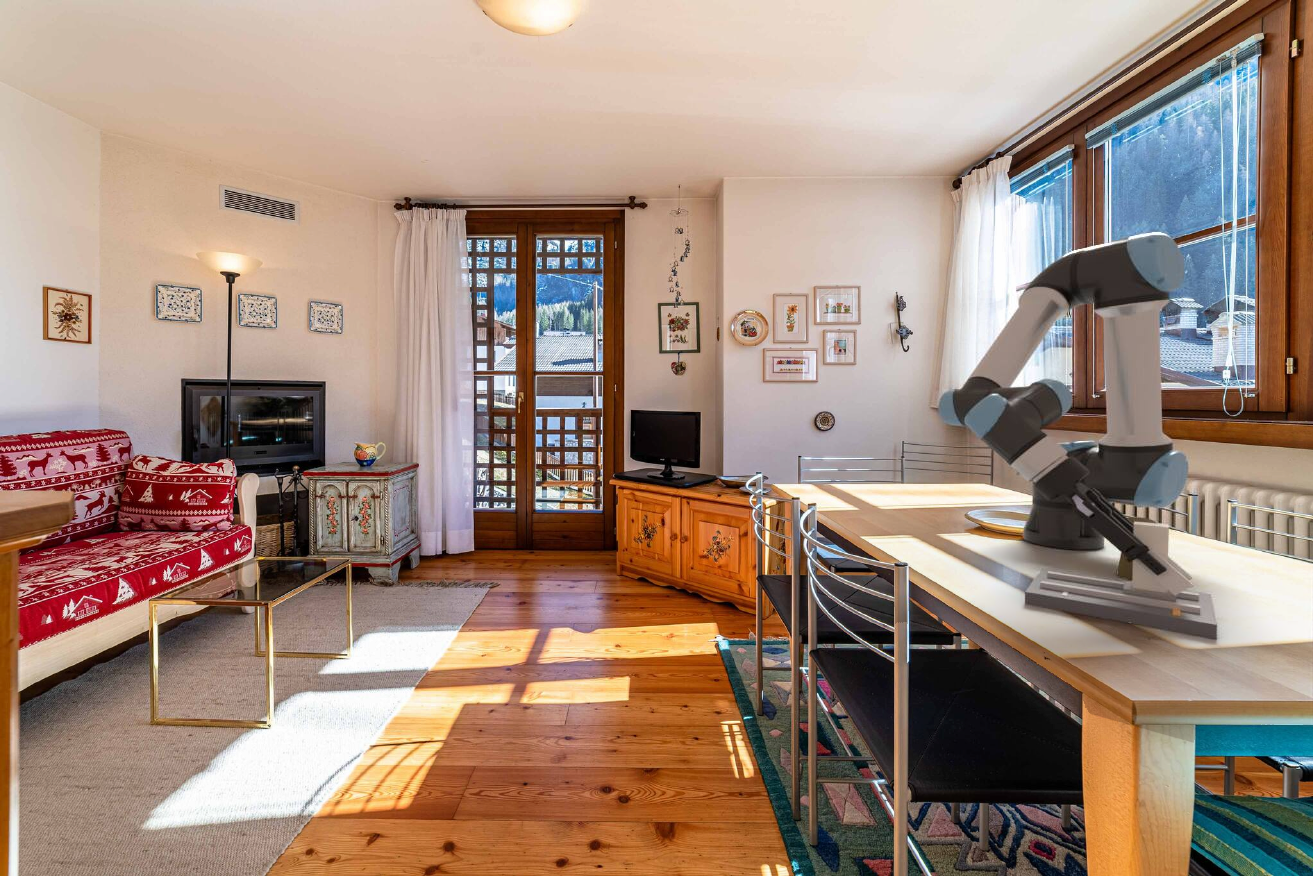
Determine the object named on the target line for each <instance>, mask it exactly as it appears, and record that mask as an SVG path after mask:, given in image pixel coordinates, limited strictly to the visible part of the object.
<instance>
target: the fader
mask: <svg viewBox="0 0 1313 876" xmlns="http://www.w3.org/2000/svg"><path fill="white" fill-rule="evenodd" d="M1169 531H1170V524H1169V523H1168V524H1166V523H1157V522H1156V523H1146V522H1135V521H1134V532H1133V535H1135V536H1136V537H1137V538H1138V539H1139V540H1140V541H1141V542H1142V543H1143V544H1144V545H1146V546H1148V548H1149V550H1150V549H1151V548H1152V549H1153V550H1154V551H1155V552H1156V553H1158V554H1159V555H1160V556H1161V557H1162V558H1163V559H1165V560H1166V561H1167V562H1168V556H1169V540H1170V538H1169V536H1170V535H1169V533H1170V532H1169ZM1124 581H1125V584H1124V588H1123V594H1126V595H1132V596H1139V597H1145V598H1151V599H1157V600H1164V601H1170V602H1176V595H1174V594H1172V593H1171V592H1170V591H1169V590H1168V589H1167V588H1166V587H1165V586H1163V585H1162V584H1161V583H1160V582H1159V581H1158V580H1157V579H1156V578H1154V577H1153V576H1152V575H1151V574H1150V573H1149V572H1148V571H1146V570H1145V569H1144V568H1143V567H1142V566H1141V565H1140V564H1139V563H1137V562H1136V561H1135V560H1133V578H1132V580H1124Z"/></svg>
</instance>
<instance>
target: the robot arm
mask: <svg viewBox="0 0 1313 876" xmlns="http://www.w3.org/2000/svg"><path fill="white" fill-rule="evenodd" d="M1185 269H1186V268H1185V262H1184V257H1183V255H1182V252H1181V250H1180V248H1179V246H1178V244H1177V243H1176V241H1175V240H1174V239H1173V237H1170V235H1168V234H1165V233H1163V232H1151V233H1143V234H1138V235H1132V236H1129V237H1125V238H1121V239H1118V240H1113V241H1109V242H1105V243H1101V244H1098V245H1094V246H1093V245H1092V246H1089V247H1086V248H1085V247H1084V248H1081V249H1077V250H1073V251H1071V252H1069V253H1067V254H1064V255H1063V256H1061V257H1060V258H1057V259H1056V260H1055V261H1054V262H1052V263H1051V264H1049V265H1048V266H1047V267H1045V268H1044V269H1043V270H1042V271H1041V272H1040V273H1039V274H1037V276H1035V278H1033V279H1032V280H1031V282H1030V283H1029V284H1028V285H1027V286H1026V288H1025V289H1024V290H1023V292H1022V293H1021V294H1020V295H1019V299H1018V307H1017V309H1016V310H1015V312H1014V313H1013V314H1012V315H1011V317H1010V319H1009V320H1008V322H1007V323H1006V325H1005V326H1004V327H1003V329H1002V330H1001V332H1000V333H999V334H998V336H997V338H995V340H994V341H993V342H992V344H991V345H990V346H989V348H988V349H987V351H986V352H985V354H984V355H983V357H982V358H981V360H980V361H979V362H978V364H977V366H976V367H975V368H974V369H973V371H972V373H971V374H970V375H969V377H968V378H967V380H966V381H965V383H963V385H962V387H961V388H960V389H959V388H954V389H950V390H947V391H945V392H944V393H943V394H942V395H941V396H940V398H939V401H938V406H937V407H938V410H937V411H938V414H939V416H940V419H942V421H943V422H944V423H945V424H947V425H949V426H950V425H951V426H959V427H965V428H966V427H967V428H969V429H970V430H971V432H972V433H973V434H974V435H975V436H976V438H977V439H980V440H981V441H982V442H983V443H985V445H987V446H988V447H989V448H990V449H992V450H993V452H995V453H996V454H997V455H998V456H999V457H1001V459H1003V460H1004V461H1005V462H1006V463H1007V464H1008V465H1009V466H1011V467H1012V468H1013V469H1014V470H1013V474H1014V475H1015V476H1018V475H1020V476H1021V477H1023V478H1024V479H1025V480H1026V481H1027V482H1032V504H1031V510H1030V512H1029V514H1028V517H1027V519H1026V521H1025V524H1024V526H1023V529H1022V533H1023V534H1022V538H1023V540H1024V541H1026V542H1028V543H1031V544H1035V545H1039V546H1043V547H1049V548H1057V549H1066V550H1085V551H1086V550H1097V549H1102V548H1104V547H1105V540H1107V541H1108V542H1109V543H1110V544H1111V545H1112V546H1113V547H1115V548H1116V549H1117V550H1118V551H1119V552H1120V553H1121V552H1122V553H1123V554H1124V556H1126V557H1127V559H1126V560H1127V561H1128V562H1132V561H1133V560H1135V561H1136V562H1137V563H1139V564H1140V565H1141V566H1142V567H1143V568H1144V569H1145V570H1146V571H1148V572H1149V573H1150V574H1151V575H1152V576H1153V577H1154V578H1156V579H1157V580H1158V581H1159V582H1160V583H1161V584H1162V585H1163V586H1165V587H1166V588H1167V589H1168V590H1169V591H1170V592H1171V593H1172V594H1174V595H1177V594H1179V593H1181V592H1182V591H1184V590H1188V589H1190V588H1191V587H1193V586H1194V584H1193V583H1192V581H1190V580H1192V579H1194V577H1193V576H1192V575H1191V574H1190V573H1189V572H1187V571H1186V570H1185V568H1183V567H1182V566H1180V565H1179V564H1178V563H1177V562H1176V561H1175V560H1174V559H1172V558H1171V557H1170V556H1169V555H1168V562H1167V561H1166V560H1165V559H1163V558H1162V557H1161V556H1160V555H1159V554H1158V553H1156V552H1155V551H1154V550H1153V549H1152V548H1151V549H1150V550H1149V548H1148V546H1146V545H1144V544H1143V543H1142V542H1141V541H1140V540H1139V539H1138V538H1137V537H1136V536H1135V535H1133V532H1134V523H1133V522H1131V521H1130V520H1129V519H1128V518H1129V517H1127V516H1126V515H1125V514H1124V513H1122V512H1121V510H1119V509H1118V508H1116V506H1114V505H1113V504H1119V505H1126V506H1133V507H1134V506H1135V507H1137V508H1154V509H1156V508H1157V509H1158V508H1159V509H1162V508H1168V507H1169V506H1171V505H1172V504H1173V503H1175V502H1176V501H1177V500H1178V498H1179V497H1180V496H1181V494H1182V493H1183V491H1184V489H1185V486H1186V483H1187V480H1188V474H1189V461H1188V460H1187V456H1186V455H1185V453H1183V452H1182V451H1179V450H1176V449H1175V450H1174V447H1173V444H1174V443H1173V439H1172V438H1171V437H1169V436H1168V435H1166V434H1165V433H1164V432H1163V419H1162V418H1163V417H1162V416H1163V413H1162V411H1163V410H1162V408H1163V407H1162V406H1163V405H1162V370H1161V369H1162V367H1161V366H1162V365H1161V362H1162V361H1161V331H1160V330H1161V328H1160V327H1161V325H1160V323H1161V320H1160V312H1161V310H1162V309H1164V307H1165V306H1167V304H1169V303H1170V301H1171V300H1170V293H1171V292H1175V291H1176V290H1178V289H1179V288H1180V287H1181V286H1182V285H1183V283H1184V278H1185ZM1090 304H1091V305H1093V313H1096V314H1097V315H1098V316H1100V317H1101V318H1102V319H1103V336H1104V337H1103V339H1104V340H1103V341H1104V373H1105V376H1104V377H1105V403H1106V407H1105V408H1106V409H1105V410H1106V434H1105V435H1104V436H1103V437H1102V438H1100V439H1099V440H1098V445H1097V442H1096V441H1095V440H1083V441H1082V440H1081V441H1071V442H1070V441H1069V442H1059V443H1058V442H1057V441H1056V440H1055V439H1053V437H1051V436H1050V435H1048V434H1047V433H1045V431H1043V430H1044V429H1045V428H1047V427H1049V426H1050V425H1052V424H1053V423H1054V422H1057V421H1059V420H1060V419H1061V418H1062V417H1063V416H1064V415H1065V414H1066V413H1067V412H1068V411H1069V410H1070V409H1071V407H1072V406H1073V394H1072V393H1071V389H1069V387H1068V386H1067V385H1066V384H1065V383H1064V382H1062V381H1060V380H1057V379H1054V378H1044V379H1040V380H1038V381H1034V382H1033V383H1031V384H1029V385H1028V386H1016V387H1015V386H1012V385H1013V384H1014V383H1015V381H1016V379H1017V378H1018V376H1019V375H1020V374H1021V372H1022V371H1023V369H1024V368H1025V366H1026V365H1027V363H1028V362H1029V360H1030V359H1031V358H1032V356H1033V354H1034V353H1035V351H1036V350H1037V349H1038V347H1039V346H1040V344H1041V343H1042V341H1043V340H1044V338H1045V337H1046V336H1047V334H1048V333H1049V331H1050V330H1051V328H1052V327H1053V325H1054V324H1055V322H1057V321H1060V320H1062V319H1064V317H1066V315H1067V314H1068V312H1069V311H1070V310H1072V309H1074V308H1076V307H1079V306H1083V305H1090Z"/></svg>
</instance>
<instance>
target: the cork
mask: <svg viewBox="0 0 1313 876" xmlns="http://www.w3.org/2000/svg"><path fill="white" fill-rule="evenodd" d="M1127 518H1128V519H1129V520H1130V521H1131V522H1133V523H1134V521H1135V522H1146V523H1157V522H1156V521H1155V520H1153V519H1150V518H1147V517H1139V516H1138V517H1137V516H1136V517H1135V516H1133V517H1127ZM1119 556H1120V557H1119V562H1118V568H1117V570H1116V571H1117V572H1116V576H1117V577H1118V578H1121V579H1122V580H1123V579H1124V580H1127V579H1128V580H1127V581H1132V578H1133V561H1132V562H1128V561H1127V560H1126V559H1127V557H1126V556H1124V554H1123V553H1122V552H1121V551H1120V555H1119Z"/></svg>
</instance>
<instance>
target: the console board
mask: <svg viewBox="0 0 1313 876" xmlns="http://www.w3.org/2000/svg"><path fill="white" fill-rule="evenodd" d="M1125 581H1126V580H1119V579H1113V578H1104V577H1099V576H1093V575H1091V576H1090V575H1085V574H1078V573H1073V572H1072V573H1071V572H1066V571H1065V572H1064V571H1059V570H1058V571H1056V570H1051V569H1044V568H1042V569H1040V571H1039V572H1038V573H1037V575H1036V576H1035V577H1034V579H1033V580H1032V582H1031V583H1029V586H1027V589H1026V590H1025V591H1024V604H1025V605H1028V606H1029V605H1030V606H1034V607H1041V608H1046V609H1051V610H1057V611H1061V612H1067V613H1074V614H1078V615H1083V616H1084V615H1085V616H1089V617H1093V618H1094V617H1095V618H1099V617H1100V619H1106V620H1109V621H1110V620H1112V621H1116V622H1122V623H1126V622H1131V623H1135V624H1134V625H1137V624H1139V625H1138V626H1142V625H1143V626H1142V627H1149V628H1154V629H1159V630H1165V631H1170V632H1175V633H1179V634H1180V633H1181V634H1187V635H1192V636H1197V637H1202V638H1207V639H1214V640H1217V638H1218V634H1217V633H1218V623H1217V618H1216V614H1215V608H1214V602H1213V599H1212V597H1213V596H1212V593H1207V592H1202V591H1201V592H1199V591H1195V590H1194V591H1193V590H1188V589H1186V590H1184V591H1182V592H1181V593H1179V594H1177V595H1176V602H1170V601H1164V600H1157V599H1151V598H1145V597H1139V596H1132V595H1126V594H1123V588H1124V584H1125ZM1131 623H1130V624H1131Z"/></svg>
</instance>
